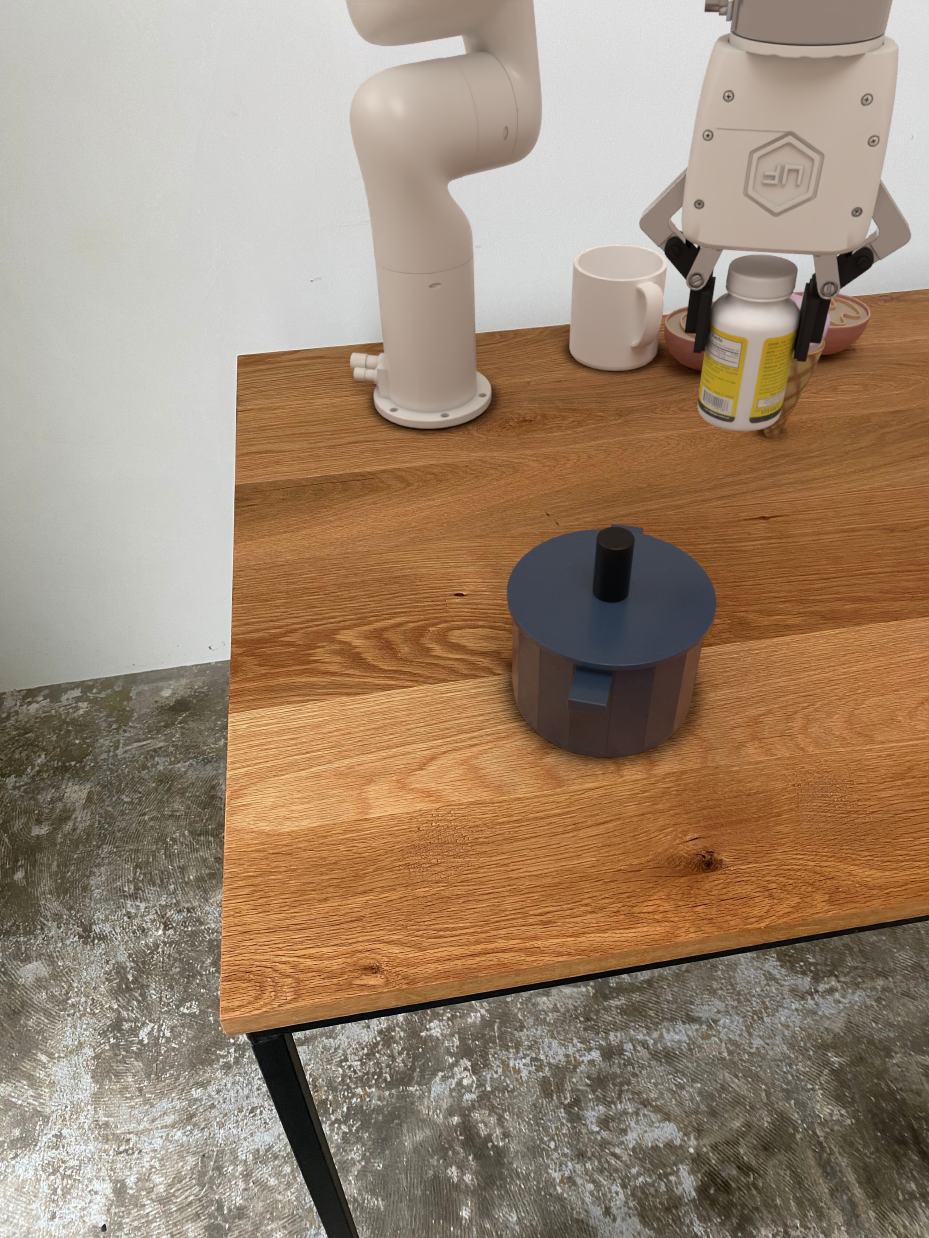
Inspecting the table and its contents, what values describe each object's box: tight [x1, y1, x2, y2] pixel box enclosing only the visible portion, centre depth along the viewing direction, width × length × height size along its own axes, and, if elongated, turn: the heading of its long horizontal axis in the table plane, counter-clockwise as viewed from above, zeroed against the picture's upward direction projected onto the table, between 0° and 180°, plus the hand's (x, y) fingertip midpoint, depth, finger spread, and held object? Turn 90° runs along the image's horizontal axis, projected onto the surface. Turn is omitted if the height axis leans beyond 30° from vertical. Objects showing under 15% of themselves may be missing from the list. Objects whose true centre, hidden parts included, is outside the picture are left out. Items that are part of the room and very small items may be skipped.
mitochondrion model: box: [663, 291, 872, 371], centre depth 104 cm, size 23×10×5 cm, turn 101°
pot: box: [511, 523, 704, 758], centre depth 65 cm, size 13×18×9 cm
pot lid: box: [506, 526, 718, 671], centre depth 61 cm, size 14×14×6 cm
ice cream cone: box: [763, 293, 831, 439], centre depth 88 cm, size 7×6×15 cm
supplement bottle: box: [697, 254, 800, 432], centre depth 59 cm, size 5×5×10 cm
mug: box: [568, 243, 668, 372], centre depth 103 cm, size 13×10×10 cm
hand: (749, 345), depth 59 cm, fingers closed on supplement bottle, 5 cm apart
